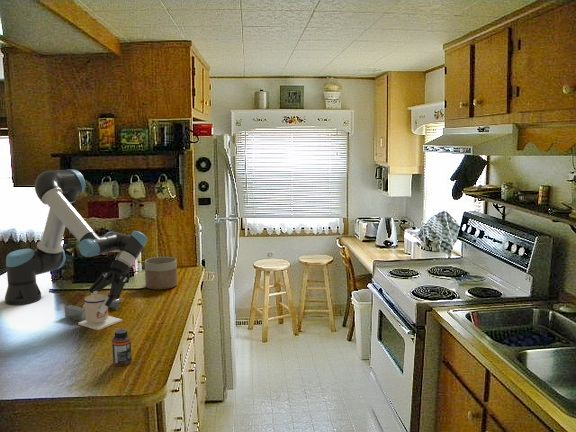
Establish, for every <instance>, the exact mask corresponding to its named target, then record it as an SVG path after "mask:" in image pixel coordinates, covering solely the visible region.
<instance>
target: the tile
mask: <svg viewBox="0 0 576 432" xmlns="http://www.w3.org/2000/svg"><path fill="white" fill-rule="evenodd" d="M122 321H123V319H122V318H118V317H114V316H111V315H108V319H106V320H104V321H101V322H88V321H86V320H84V321H82V322H81V321H78V323H77V325H79V326H82V327H86V328H89V329H92V330H95V331H101V330H103V329H105V328H108V327H111V326H112V325H115V324H118V323H121V322H122Z"/></svg>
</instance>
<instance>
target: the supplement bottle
mask: <svg viewBox="0 0 576 432" xmlns="http://www.w3.org/2000/svg"><path fill="white" fill-rule="evenodd" d="M131 339H132V338H131V336H130V335H129V334H128V329H126V328H119V329H118V328H117V329H115V330H114V336H113V337H112V339H111V343H112V344H111V347H112V348H111V349H112V361H113V365H115V366H116V367H117V366H118V367H125V366H127V365H130V363H131V362H132V359H133V358H132V342H131V341H132V340H131Z"/></svg>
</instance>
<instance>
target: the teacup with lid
mask: <svg viewBox="0 0 576 432" xmlns="http://www.w3.org/2000/svg"><path fill="white" fill-rule="evenodd" d="M106 297H108V295H106V294H104V293H103V294H102V293H100V292H99V293H98V291H94V292H93V294H91V295H90V294H89V295H87V296H85V297H84V299H83V302H84V304H85V308H84V309H85V316H86V321H88V322H101V321H104V320H106V319H108V316H109V308H107V310H106V311H105V313H104V314H101V313H100V312H99V311H98V310H99V308H100V307H101V305H102V304H103V302H104V301H105V299H106Z"/></svg>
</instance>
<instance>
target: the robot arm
mask: <svg viewBox="0 0 576 432" xmlns="http://www.w3.org/2000/svg"><path fill="white" fill-rule="evenodd" d="M85 190H86V180H85V178H84V174H82V172H80V171H79V170H77V169H69V168H67V169H57V170H46V171H43V172H41V173H40V174H38V176H37V178H36V179H35V183H34V191H35V194H36V196H37V198H38V200H39V201H40V202H41V203H42V204H44V205H47V206H48V207H49V210H48V214H47V218H46V223H45V227H44V231H43V234H42V239H41V240H40V241H38V242H37V244H36V248H35V249H32V248H22V249H17V250H13V251H11V252H10V253H7V255H6V258H5V266H6V276H7V277H6V278H7V289H6V292H5V296H4V303H5V304H6V305H11V306H12V305H13V306H19V305H28V304H32V303H36V302H38V301H40V300H41V299H42V292H41V290H40V288H39V285H38V283H37V278H36V277H37V276H38V275H42V274H45V273H49V272H54V271H56V270H59V269H61V268H62V267H63V266H64V265H65V262H66V258H67V257H66V255H65V254H66V252H65V250H64V247H63V246H62V240H63V237H64V233H65V229H66V228H67V229H68V231H69V233H71V234H72V235H73V237H74V238H75V239H76V240H77V242H79V244H78V250H79V253H80V255H82V256H83V257H85V258H90V257H96V256H99V255H103V254H107V253H110V252H111V253H112V252H115V251H118V254H117V255H116V257H115V260H113V262H112V263H111V265H110V267H109V268H110V269H109V271H108V272H105V271H102V272H101V274H100V276H99V277H98V278H96V280H95V281H94V282H93V283H92V285H91V286H90V287H89V289H88V291H89V295H91V294H93V292H94V291H98V293H100V292H101V291H102V290H104V289H105V288H106V287H107V286H110V285H111V286H110V291H109V294H108V295H107V297H106V299H105V301H104V302H103V304H102V305H101V307H100V308H99V310H98V311H99V312H100V313H101V314H104V313H105V311H106V310H107V308H108V307H109V306H110V304H111V303H112V301H113V300H116V299H117V300H118V299H119V298H121V297H120V296H121V294H122V292H123V290H124V287H125V285H126V283H127V282H128V280H129V278H128V277H126V276H127V275H128V273H129V272H130V270H131V268H132V267H133V265H134V263H135V261H136V260H137V258H138V257H139V255H140V253H141V252H142V251H143V249H144V248H145V246H146V244H147V243H148V237H147V236H146V235H145V234H144V233H143V232H140V231H137V230H133V231H132V233H130V235H129V234H125V233H119V232H117V231H108V232H106V233H105V234H103V235H100V236H99V235H98V234H97V233H96V232H95V231H94V230H93V228H92V227H91V226H90V225H89V224H88V222H87V221H86V220H85V219H84V218H83V217H82V215H81V214H80V213H79V211H77V209H76V208H75V207H74V206H73V205H72V203H75V202H76V201H77V198H78V195H80V194H82V193H84V191H85ZM82 308H84V309H85V303H83V305H82ZM108 309H109V308H108Z"/></svg>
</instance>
